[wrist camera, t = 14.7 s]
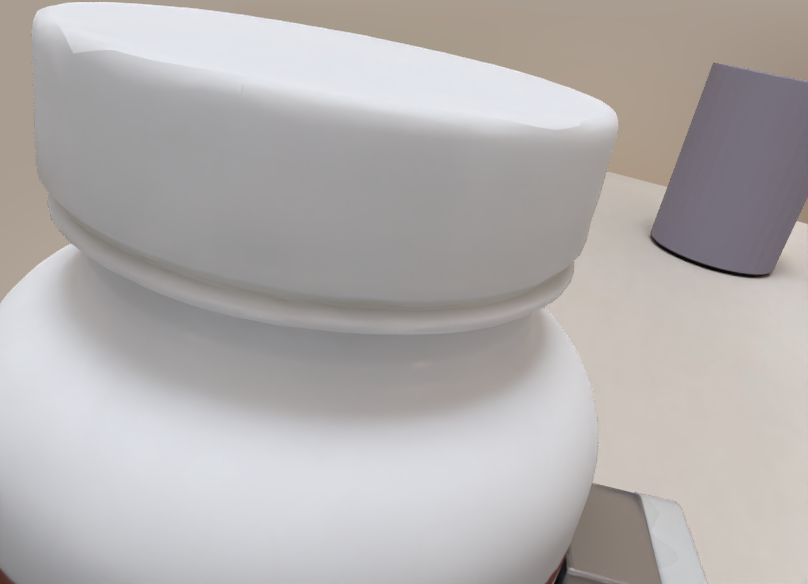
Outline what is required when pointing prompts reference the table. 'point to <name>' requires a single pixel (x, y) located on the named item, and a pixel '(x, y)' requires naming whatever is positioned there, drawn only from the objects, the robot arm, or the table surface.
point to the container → (738, 173)
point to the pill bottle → (295, 310)
